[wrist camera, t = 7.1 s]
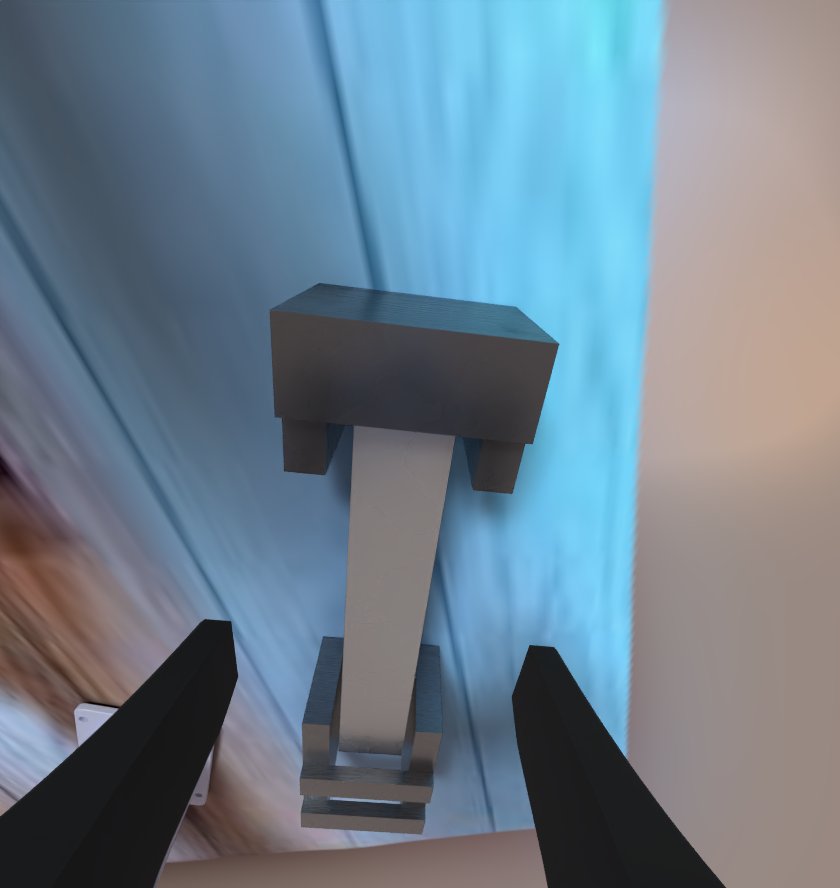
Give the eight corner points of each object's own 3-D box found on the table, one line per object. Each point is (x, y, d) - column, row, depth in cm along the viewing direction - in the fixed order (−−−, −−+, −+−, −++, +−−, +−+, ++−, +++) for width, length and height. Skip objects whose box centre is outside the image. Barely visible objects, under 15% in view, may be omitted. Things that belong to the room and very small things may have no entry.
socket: (490, 428, 17) (516, 505, 12) (318, 410, 16) (277, 482, 12) (515, 307, 15) (559, 343, 10) (319, 283, 14) (269, 309, 10)
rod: (403, 693, 23) (401, 755, 20) (348, 690, 23) (338, 751, 20) (455, 364, 15) (462, 395, 12) (368, 354, 14) (356, 383, 12)
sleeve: (421, 731, 26) (421, 834, 22) (321, 724, 26) (301, 826, 22) (439, 646, 23) (443, 748, 18) (323, 636, 22) (298, 738, 18)
